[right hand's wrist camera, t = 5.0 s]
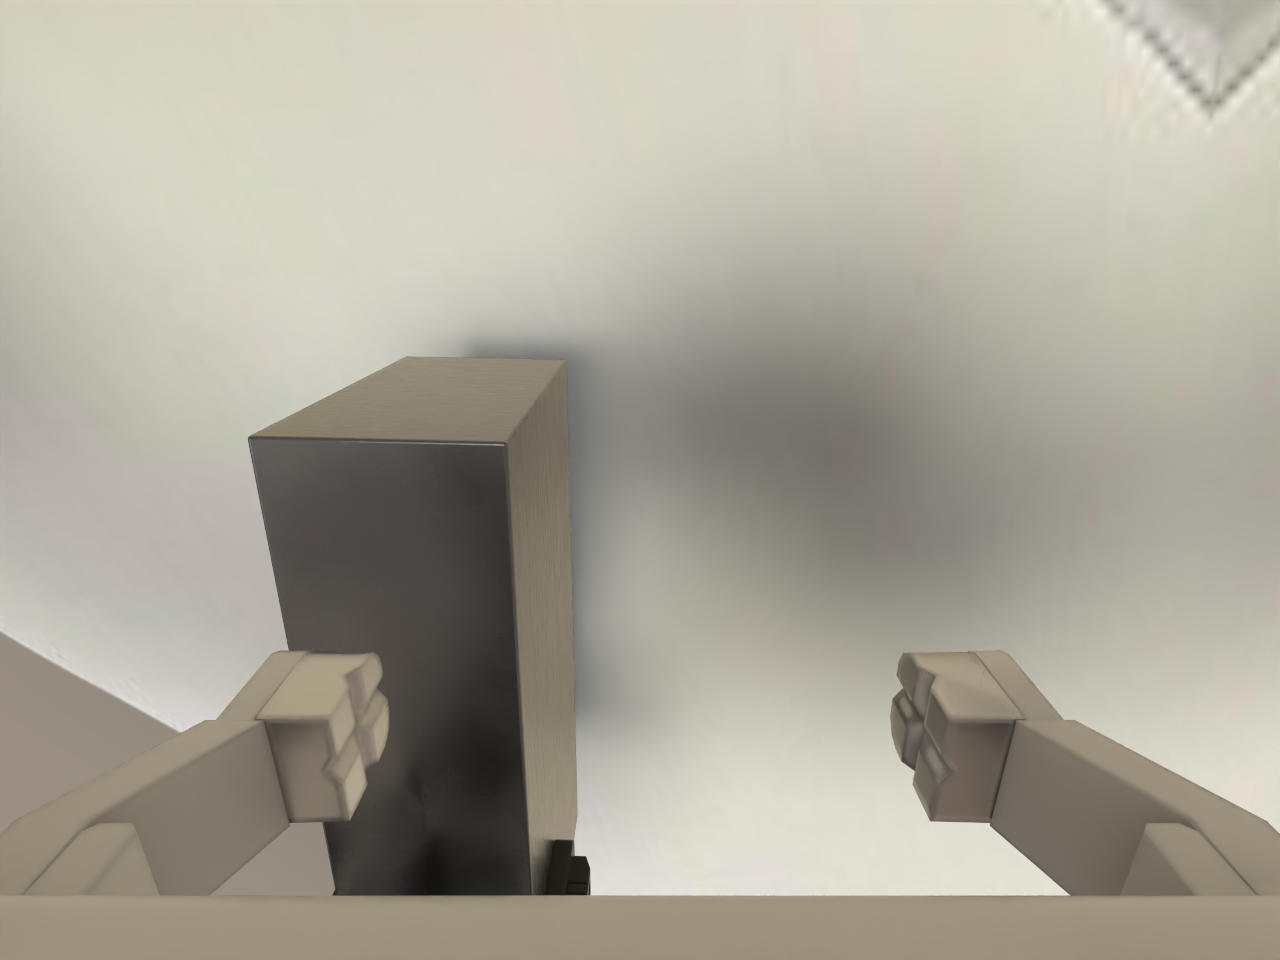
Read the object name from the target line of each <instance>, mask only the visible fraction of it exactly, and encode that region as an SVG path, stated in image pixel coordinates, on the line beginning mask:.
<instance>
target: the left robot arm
mask: <svg viewBox="0 0 1280 960" xmlns="http://www.w3.org/2000/svg"><path fill="white" fill-rule="evenodd" d="M546 895H590V867H589V864H588V861H587V858H586V856H575V854H574V840H560V839H556V841H555V846H554V851H553V857H552V863H551V868H550V874H549V880H548V885H547V891H546ZM332 896H337V895H336V890H335V891H334V893H333V895H332Z"/></svg>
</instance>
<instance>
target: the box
mask: <svg viewBox="0 0 1280 960" xmlns="http://www.w3.org/2000/svg"><path fill="white" fill-rule="evenodd" d="M248 442H249V447H250V452H251V458H252V463H253V468H254V473H255V478H256V483H257V489H258V494H259V499H260V504H261V509H262V514H263V519H264V525H265V530H266V535H267V540H268V545H269V550H270V555H271V561H272V566H273V571H274V576H275V581H276V586H277V591H278V597H279V602H280V607H281V612H282V617H283V622H284V627H285V633H286V638H287V643H288V648H289V651H310V652H311V651H345V652H374V653H376V654H377V655H378V656H379V657H380V661H381V666H382V671H383V677H382V678H381V680H380V682H379V684H378V686H377V689H378V690H379V691H380V692H381V693H382V694H383V695H384V696H385V697H386V698H387V700H388V706H389V730H388V735H387V740H386V745H385V748H384V750H383V752H382V754H381V757H380V759H379V761H378V762H377V763H375V764H374V765H373V766H371V767H370V768H369V769H367V770H366V771H365V774H366V779H367V786H366V789H365V791H364V793H363V795H362V797H361V799H360V801H359V803H358V805H357V807H356V809H355V811H354V813H353V815H352V818H351V820H350V821H337V822H322V823H323V828H324V833H325V839H326V844H327V849H328V854H329V859H330V864H331V869H332V874H333V880H334V885H335V890H336V895H337V896H498V895H546V891H547V885H548V880H549V874H550V868H551V863H552V857H553V851H554V846H555V841H556V839H560V840H574V835H575V828H576V821H577V774H576V732H575V690H574V648H573V606H572V564H571V522H570V481H569V439H568V397H567V362H566V360H554V359H503V358H452V357H405V358H403V359H401V360H399V361H397V362H395V363H393V364H391V365H389V366H387V367H385V368H383V369H381V370H379V371H377V372H375V373H373V374H371V375H369V376H367V377H365V378H363V379H361V380H359V381H357V382H355V383H353V384H351V385H349V386H347V387H345V388H344V389H342V390H340V391H338V392H336V393H334V394H332V395H330V396H328V397H326V398H324V399H322V400H320V401H318V402H316V403H314V404H312V405H310V406H308V407H306V408H304V409H302V410H300V411H298V412H296V413H294V414H292V415H290V416H288V417H286V418H284V419H282V420H280V421H278V422H276V423H275V424H273V425H271V426H269V427H267V428H265V429H263V430H261V431H259V432H257V433H255V434H253V435H251V436H249V437H248Z"/></svg>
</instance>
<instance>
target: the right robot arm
mask: <svg viewBox="0 0 1280 960" xmlns="http://www.w3.org/2000/svg"><path fill="white" fill-rule="evenodd" d="M382 677H383V671H382V666H381V661H380V657H379V656H378V655H377V654H376V653H374V652H345V651H311V652H310V651H278V652H275V653H272V654H271V655H270V656H269V657H268V659H267V660H266V661H265V662H264V663H263V665H262V666H261V667H260V668H259V669H258V670H257V672H256V673H255V674H254V675H253V676H252V678H251V679H250V680H249V681H248V682H247V684H246V685H245V686H244V687H243V688H242V690H241V691H240V692H239V693H238V694H237V695H236V697H235V698H234V699H233V700H232V701H231V703H230V704H229V705H228V706H227V707H226V709H225V710H224V711H223V712H222V713H221V714H220V716H219V717H218V718H217V719H216V720H205V721H203V722H201V723H199V724H197V725H195V726H193V727H192V728H190V729H188V730H186V731H184V732H182V733H180V734H178V735H176V736H174V737H172V738H171V739H169V740H167V741H165V742H163V743H161V744H159V745H157V746H155V747H154V748H151V749H150V750H148V751H146V752H144V753H142V754H140V755H138V756H136V757H134V758H132V759H131V760H129V761H127V762H125V763H123V764H121V765H119V766H117V767H115V768H113V769H111V770H110V771H108V772H106V773H104V774H102V775H100V776H98V777H96V778H94V779H92V780H90V781H89V782H87V783H85V784H83V785H81V786H79V787H77V788H75V789H73V790H71V791H69V792H68V793H66V794H64V795H62V796H60V797H58V798H56V799H54V800H52V801H50V802H49V803H47V804H45V805H43V806H41V807H39V808H37V809H35V810H33V811H31V812H29V813H28V814H26V815H24V816H22V817H20V818H18V819H16V820H15V821H14V822H13V823H11V824H10V825H9V826H8V827H7V828H6V829H5V830H4V831H3V832H2V833H1V834H0V960H1280V834H1279V833H1278V832H1277V831H1276V830H1275V829H1274V828H1273V827H1272V826H1271V825H1270V824H1269V823H1268V822H1267V821H1265V820H1263V819H1262V818H1260V817H1258V816H1256V815H1254V814H1252V813H1250V812H1248V811H1246V810H1244V809H1242V808H1241V807H1239V806H1237V805H1235V804H1233V803H1231V802H1229V801H1227V800H1225V799H1223V798H1222V797H1220V796H1218V795H1216V794H1214V793H1212V792H1210V791H1208V790H1206V789H1204V788H1203V787H1201V786H1199V785H1197V784H1195V783H1193V782H1191V781H1189V780H1187V779H1185V778H1184V777H1182V776H1180V775H1178V774H1176V773H1174V772H1172V771H1170V770H1168V769H1166V768H1164V767H1163V766H1161V765H1159V764H1157V763H1155V762H1153V761H1151V760H1149V759H1147V758H1145V757H1144V756H1142V755H1140V754H1138V753H1136V752H1134V751H1132V750H1130V749H1128V748H1126V747H1125V746H1123V745H1121V744H1119V743H1117V742H1115V741H1113V740H1111V739H1109V738H1107V737H1106V736H1104V735H1102V734H1100V733H1098V732H1096V731H1094V730H1092V729H1090V728H1088V727H1086V726H1085V725H1083V724H1081V723H1079V722H1077V721H1075V720H1064V719H1063V718H1062V717H1061V716H1060V715H1059V713H1058V712H1057V711H1056V710H1055V709H1054V707H1053V706H1052V705H1051V704H1050V703H1049V701H1048V700H1047V699H1046V698H1045V697H1044V696H1043V694H1042V693H1041V692H1040V691H1039V690H1038V688H1037V687H1036V686H1035V685H1034V684H1033V682H1032V681H1031V680H1030V679H1029V678H1028V677H1027V675H1026V674H1025V673H1024V672H1023V671H1022V669H1021V668H1020V667H1019V666H1018V665H1017V663H1016V662H1015V661H1014V660H1013V659H1012V658H1011V656H1010V655H1009V654H1007V653H1005V652H1003V651H1001V650H993V651H968V652H937V653H903V655H902V657H901V659H900V660H899V665H898V670H897V677H898V678H899V680H900V682H901V684H902V686H903V689H902V690H901V691H900V692H899V693H898V694H897V695H896V696H895V697H894V698H893V700H892V708H891V716H890V718H891V730H892V737H893V741H894V744H895V748H896V750H897V752H898V755H899V757H900V759H901V761H902V762H903V763H905V764H906V765H907V766H909V767H910V768H911V769H913V770H914V771H915V774H914V779H913V786H914V789H915V791H916V793H917V795H918V797H919V799H920V801H921V803H922V805H923V807H924V809H925V811H926V813H927V815H928V817H929V820H930V821H941V822H977V823H990V826H991V827H992V828H993V829H994V830H996V831H997V832H998V833H999V834H1000V835H1001V836H1002V837H1004V838H1005V839H1006V840H1007V841H1008V842H1009V843H1011V844H1012V845H1013V846H1014V847H1015V848H1016V849H1017V850H1019V851H1020V852H1021V853H1022V854H1023V855H1024V856H1026V857H1027V858H1028V859H1029V860H1030V861H1031V862H1033V863H1034V864H1035V865H1036V866H1037V867H1038V868H1039V869H1041V870H1042V871H1043V872H1044V873H1045V874H1046V875H1048V876H1049V877H1050V878H1051V879H1052V880H1053V881H1054V882H1056V883H1057V884H1058V885H1059V886H1060V887H1061V888H1063V889H1064V890H1065V891H1066V892H1067V893H1068V894H1070V895H1071V896H609V895H498V896H241V895H240V896H239V895H211V894H212V893H213V892H214V891H215V890H216V889H218V888H219V887H220V886H221V885H222V884H223V883H225V882H226V881H227V880H228V879H229V878H230V877H231V876H233V875H234V874H235V873H236V872H237V871H238V870H240V869H241V868H242V867H243V866H244V865H245V864H246V863H248V862H249V861H250V860H251V859H252V858H254V857H255V856H256V855H257V854H258V853H259V852H260V851H262V850H263V849H264V848H265V847H266V846H267V845H269V844H270V843H271V842H272V841H273V840H274V839H276V838H277V837H278V836H279V835H280V834H281V833H282V832H284V831H285V830H286V829H287V828H288V827H289V826H290V824H289V823H303V822H337V821H350V820H351V818H352V815H353V813H354V811H355V809H356V807H357V805H358V803H359V801H360V799H361V797H362V795H363V793H364V791H365V789H366V786H367V779H366V774H365V771H366V770H367V769H369V768H370V767H371V766H373V765H374V764H375V763H377V762H378V761H379V759H380V757H381V754H382V752H383V750H384V748H385V745H386V740H387V735H388V730H389V706H388V700H387V698H386V697H385V696H384V695H383V694H382V693H381V692H380V691H379V690H378V689H377V686H378V684H379V682H380V680H381V678H382Z"/></svg>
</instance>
